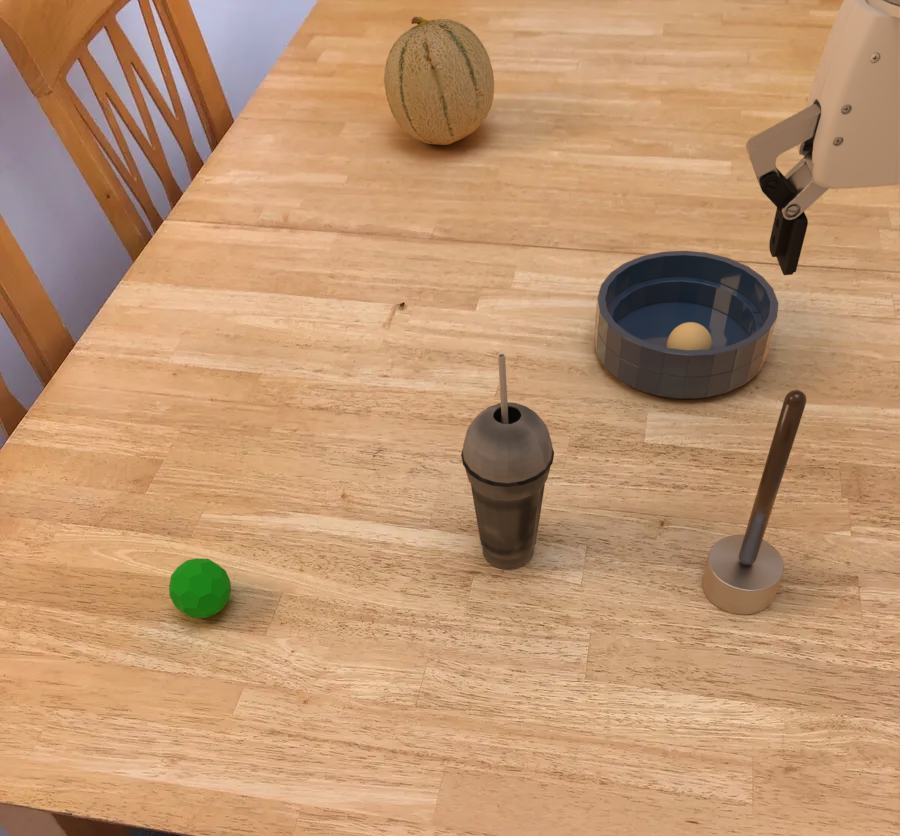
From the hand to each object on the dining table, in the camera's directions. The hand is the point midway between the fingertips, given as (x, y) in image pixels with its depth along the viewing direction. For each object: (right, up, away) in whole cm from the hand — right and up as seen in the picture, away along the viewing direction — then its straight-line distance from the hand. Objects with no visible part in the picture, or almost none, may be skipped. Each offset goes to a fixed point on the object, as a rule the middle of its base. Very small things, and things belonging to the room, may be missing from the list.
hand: (857, 258), depth 62 cm
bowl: (-3, +3, +35) cm, 35 cm away
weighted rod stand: (-3, -22, +16) cm, 27 cm away
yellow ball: (-3, +3, +31) cm, 31 cm away
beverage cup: (-22, -19, +20) cm, 35 cm away
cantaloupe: (-28, +41, +67) cm, 83 cm away
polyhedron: (-48, -23, +18) cm, 56 cm away
